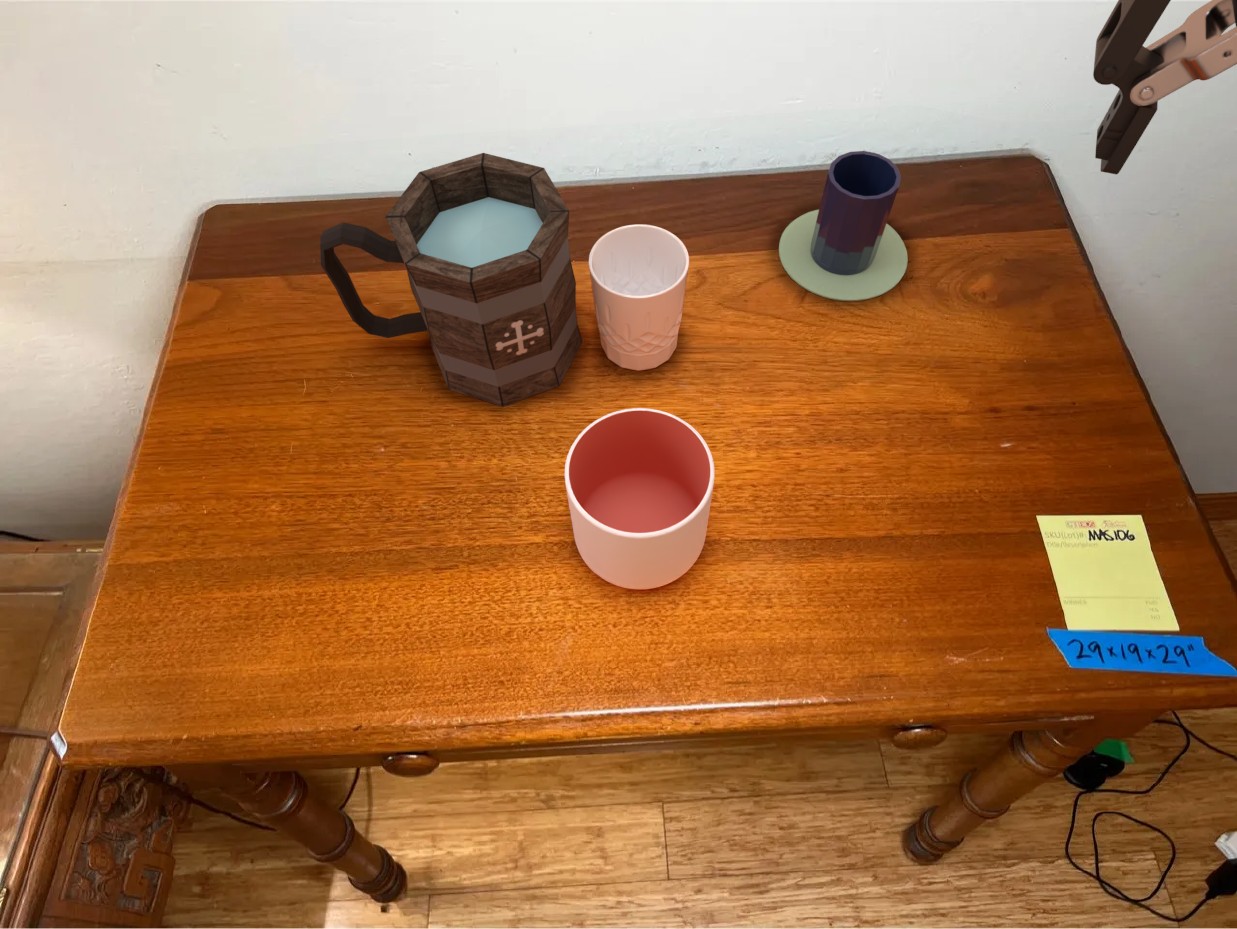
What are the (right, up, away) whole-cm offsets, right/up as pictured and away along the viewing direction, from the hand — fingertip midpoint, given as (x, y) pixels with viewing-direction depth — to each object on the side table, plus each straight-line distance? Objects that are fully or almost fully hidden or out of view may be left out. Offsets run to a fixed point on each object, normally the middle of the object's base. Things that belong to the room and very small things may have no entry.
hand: (1205, 180), depth 38 cm
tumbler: (-6, +7, +39) cm, 40 cm away
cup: (-26, -19, +25) cm, 40 cm away
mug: (-41, -3, +34) cm, 53 cm away
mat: (-6, +7, +39) cm, 40 cm away
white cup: (-26, -2, +34) cm, 43 cm away
